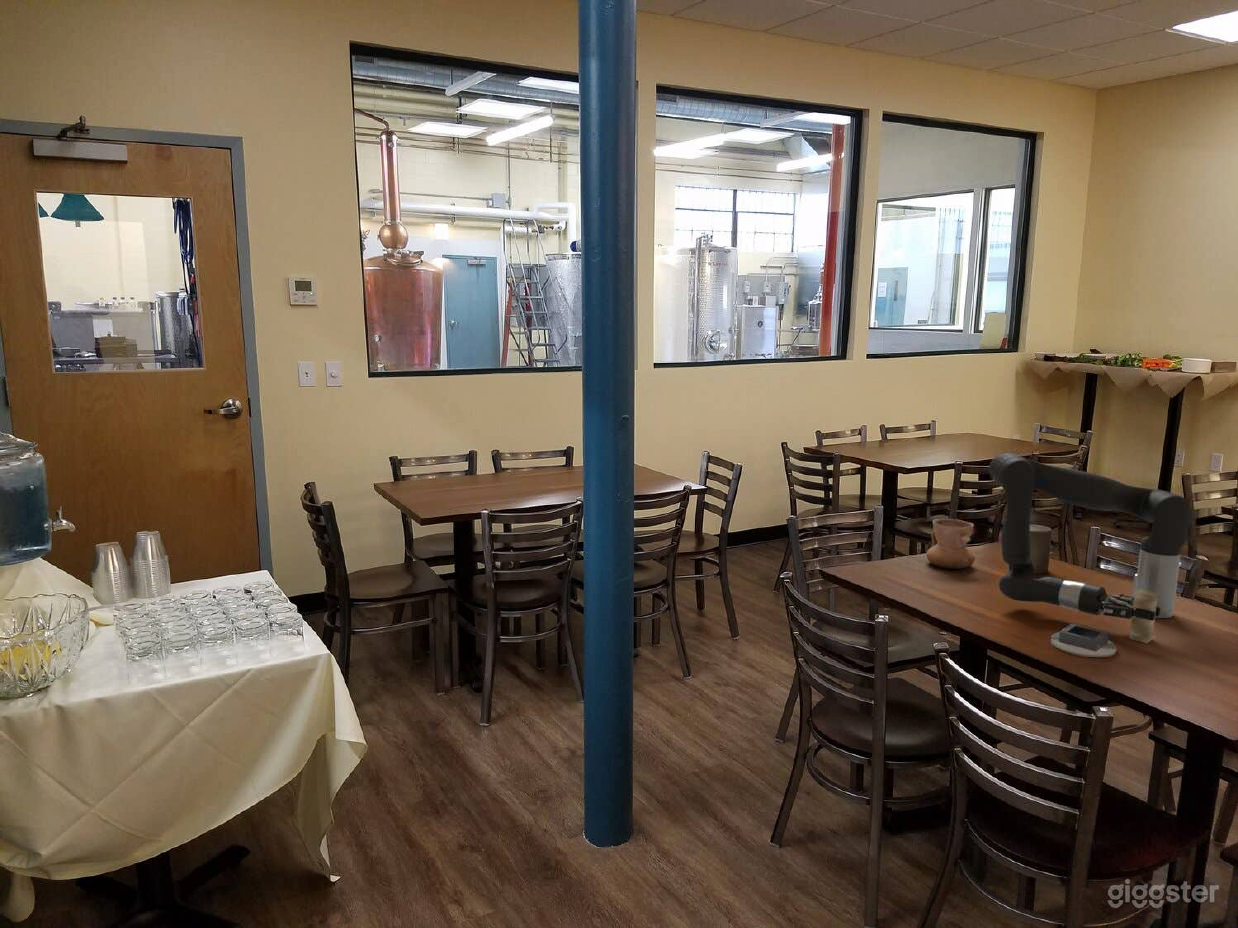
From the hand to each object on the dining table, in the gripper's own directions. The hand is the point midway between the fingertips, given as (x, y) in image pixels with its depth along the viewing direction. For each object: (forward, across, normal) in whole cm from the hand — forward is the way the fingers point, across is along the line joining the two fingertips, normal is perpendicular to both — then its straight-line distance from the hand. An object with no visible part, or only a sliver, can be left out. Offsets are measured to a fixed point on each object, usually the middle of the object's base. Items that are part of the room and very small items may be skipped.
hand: (1156, 613), depth 212 cm
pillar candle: (-44, +40, +8) cm, 60 cm away
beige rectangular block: (-3, 0, +7) cm, 8 cm away
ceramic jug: (-65, +26, +8) cm, 70 cm away
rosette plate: (-11, -16, +7) cm, 21 cm away
